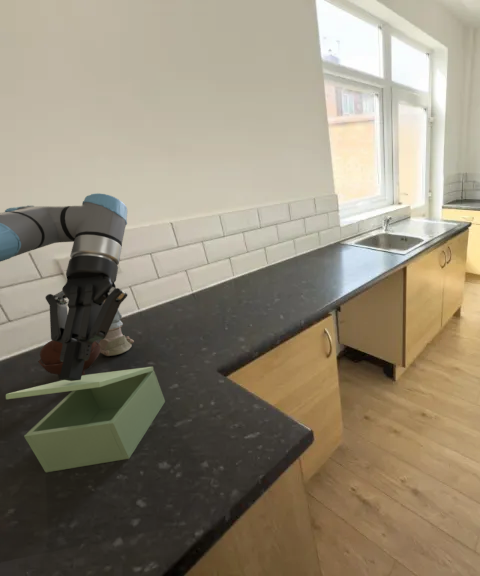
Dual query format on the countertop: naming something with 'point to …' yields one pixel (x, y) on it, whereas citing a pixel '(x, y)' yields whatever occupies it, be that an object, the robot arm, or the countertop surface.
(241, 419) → the countertop surface
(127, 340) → the figurine
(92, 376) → the chest lid
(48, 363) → the ice cream bowl
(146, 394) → the chest
